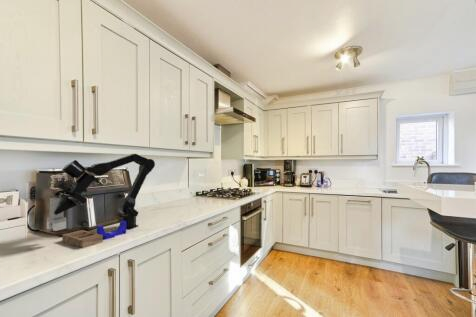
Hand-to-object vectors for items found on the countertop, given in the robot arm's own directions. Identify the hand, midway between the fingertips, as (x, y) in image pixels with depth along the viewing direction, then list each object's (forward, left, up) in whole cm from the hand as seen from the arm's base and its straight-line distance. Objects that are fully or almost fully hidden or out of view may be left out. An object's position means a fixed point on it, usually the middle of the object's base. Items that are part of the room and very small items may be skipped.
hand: (52, 213), depth 93 cm
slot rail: (-7, +8, -13) cm, 17 cm away
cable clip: (-16, +15, -14) cm, 26 cm away
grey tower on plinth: (-1, 0, -7) cm, 7 cm away
